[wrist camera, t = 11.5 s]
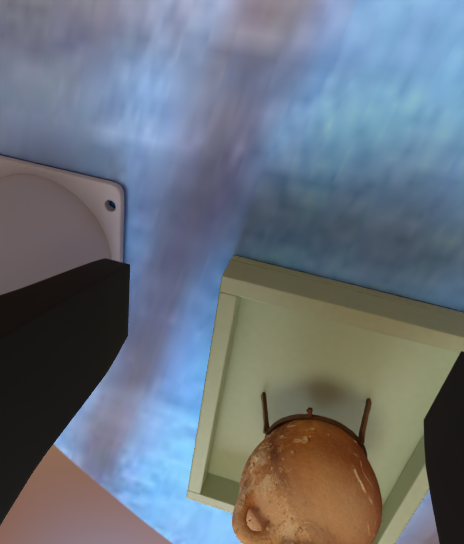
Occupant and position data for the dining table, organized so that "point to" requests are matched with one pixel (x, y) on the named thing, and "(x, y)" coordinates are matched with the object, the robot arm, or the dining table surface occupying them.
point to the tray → (321, 377)
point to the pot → (308, 484)
